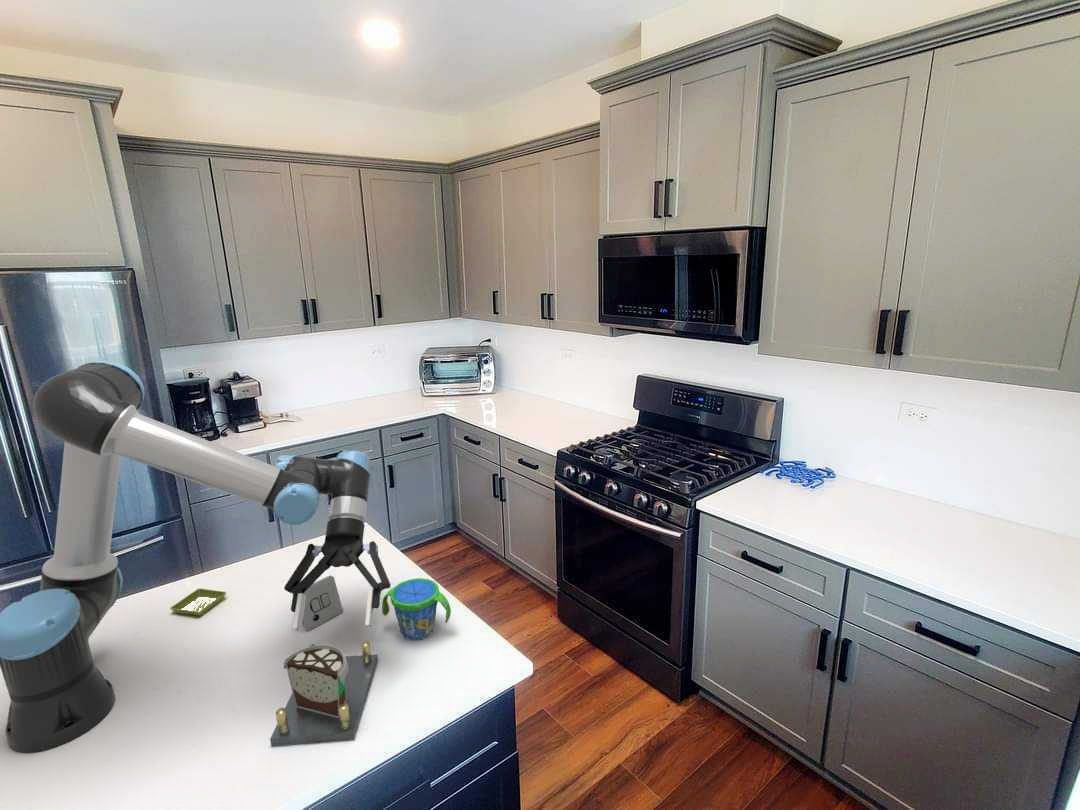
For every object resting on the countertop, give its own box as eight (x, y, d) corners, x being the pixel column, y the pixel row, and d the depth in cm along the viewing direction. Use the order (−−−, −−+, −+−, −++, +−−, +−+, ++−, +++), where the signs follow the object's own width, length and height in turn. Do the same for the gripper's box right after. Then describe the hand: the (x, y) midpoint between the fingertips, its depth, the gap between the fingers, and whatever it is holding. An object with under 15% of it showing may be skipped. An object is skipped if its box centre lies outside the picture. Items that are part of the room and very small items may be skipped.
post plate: (271, 746, 95) (266, 719, 94) (309, 664, 114) (306, 642, 113) (354, 739, 96) (350, 713, 95) (378, 660, 115) (375, 637, 114)
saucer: (170, 615, 133) (168, 608, 132) (200, 595, 141) (198, 587, 140) (200, 620, 130) (198, 612, 130) (228, 599, 139) (227, 591, 138)
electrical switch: (307, 632, 125) (299, 595, 123) (295, 626, 128) (288, 589, 126) (344, 612, 132) (337, 576, 130) (332, 606, 135) (326, 571, 133)
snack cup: (459, 622, 127) (457, 583, 125) (438, 652, 117) (434, 610, 115) (400, 611, 132) (396, 573, 129) (374, 639, 122) (370, 598, 120)
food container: (366, 695, 104) (361, 649, 102) (346, 720, 98) (340, 672, 96) (312, 681, 108) (305, 637, 105) (289, 705, 102) (282, 659, 100)
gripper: (408, 524, 121) (401, 627, 111) (292, 529, 120) (274, 634, 109) (402, 513, 115) (394, 621, 104) (279, 518, 113) (258, 628, 103)
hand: (332, 628), depth 107 cm, fingers open, 13 cm apart
